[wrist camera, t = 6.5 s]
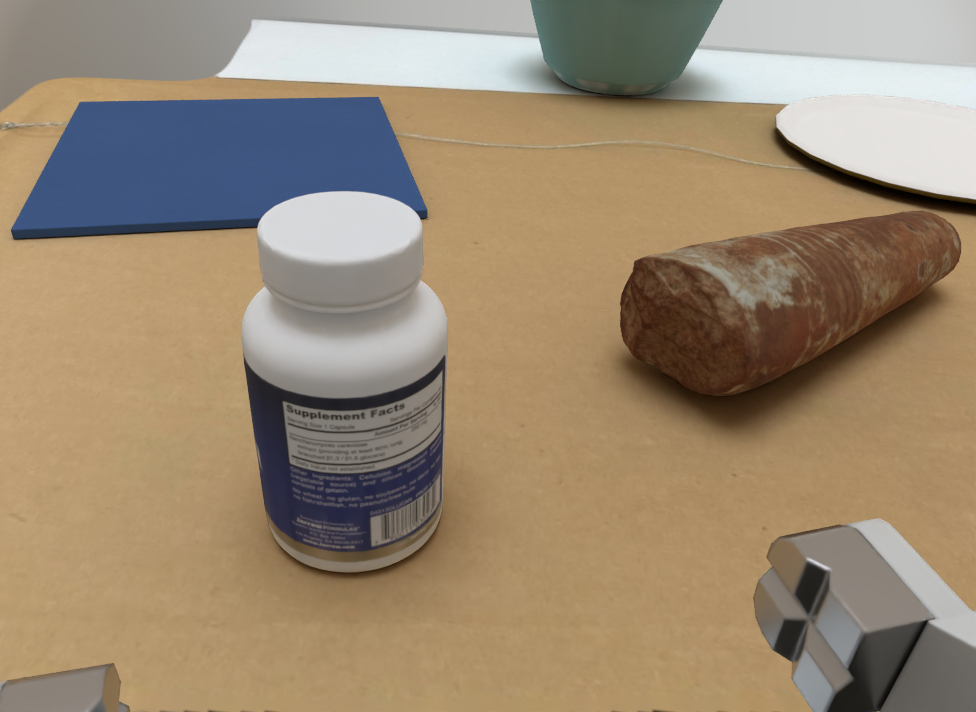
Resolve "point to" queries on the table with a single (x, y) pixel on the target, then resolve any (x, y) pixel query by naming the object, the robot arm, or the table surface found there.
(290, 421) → the pill bottle
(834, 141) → the plate
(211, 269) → the table surface
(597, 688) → the table surface
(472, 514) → the table surface
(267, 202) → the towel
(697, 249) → the brown rounded cylinder
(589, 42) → the bowl
